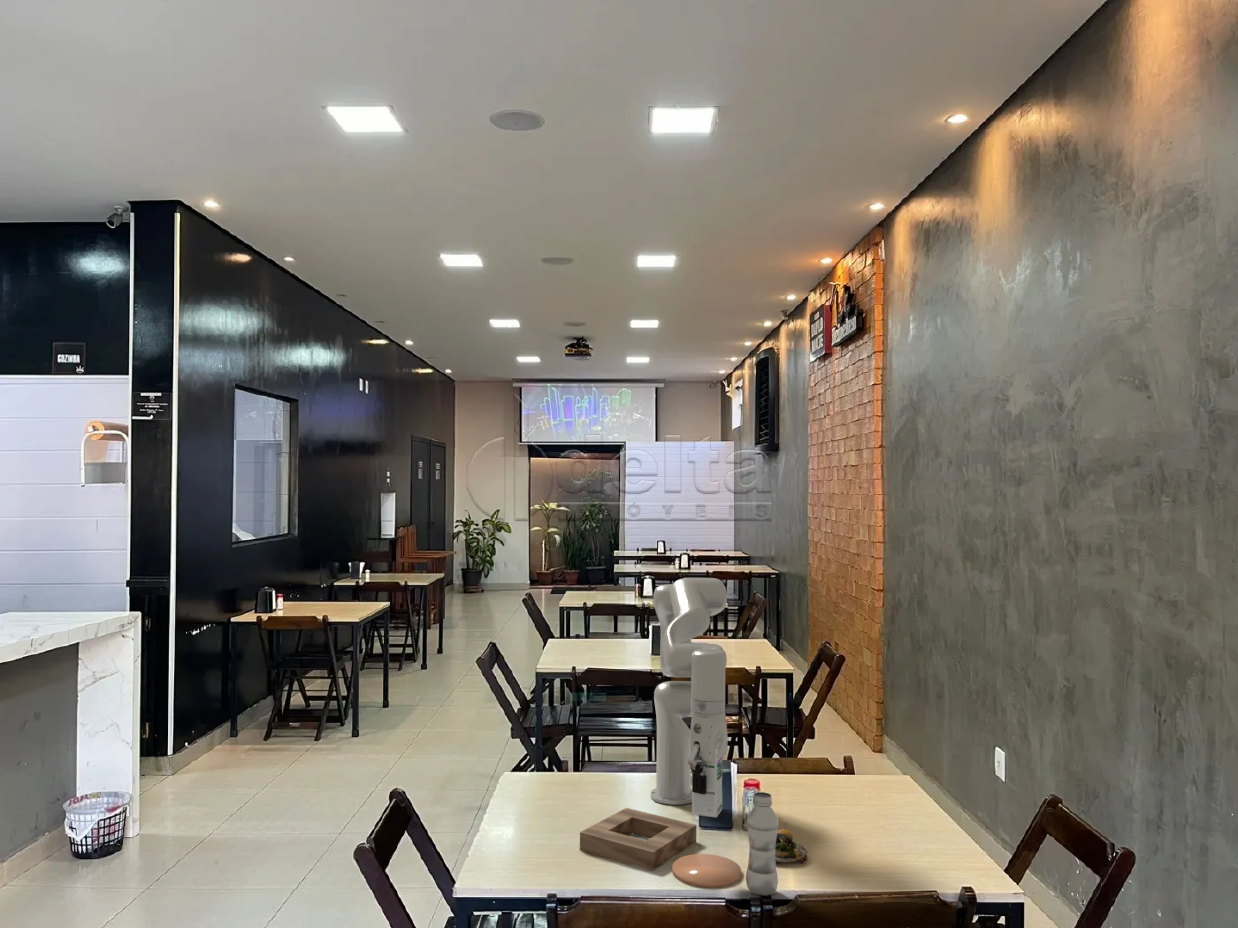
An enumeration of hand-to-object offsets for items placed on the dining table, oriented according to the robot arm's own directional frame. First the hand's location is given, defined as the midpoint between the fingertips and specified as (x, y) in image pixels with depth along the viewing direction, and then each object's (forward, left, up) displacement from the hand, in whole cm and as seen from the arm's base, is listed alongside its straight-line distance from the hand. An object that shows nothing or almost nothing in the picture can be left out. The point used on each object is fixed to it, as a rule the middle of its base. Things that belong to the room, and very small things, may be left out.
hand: (707, 787), depth 188 cm
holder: (-4, -20, -18) cm, 27 cm away
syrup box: (0, 0, -5) cm, 5 cm away
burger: (-18, +10, -19) cm, 28 cm away
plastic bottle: (+2, +14, -18) cm, 23 cm away
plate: (0, 0, -18) cm, 18 cm away
